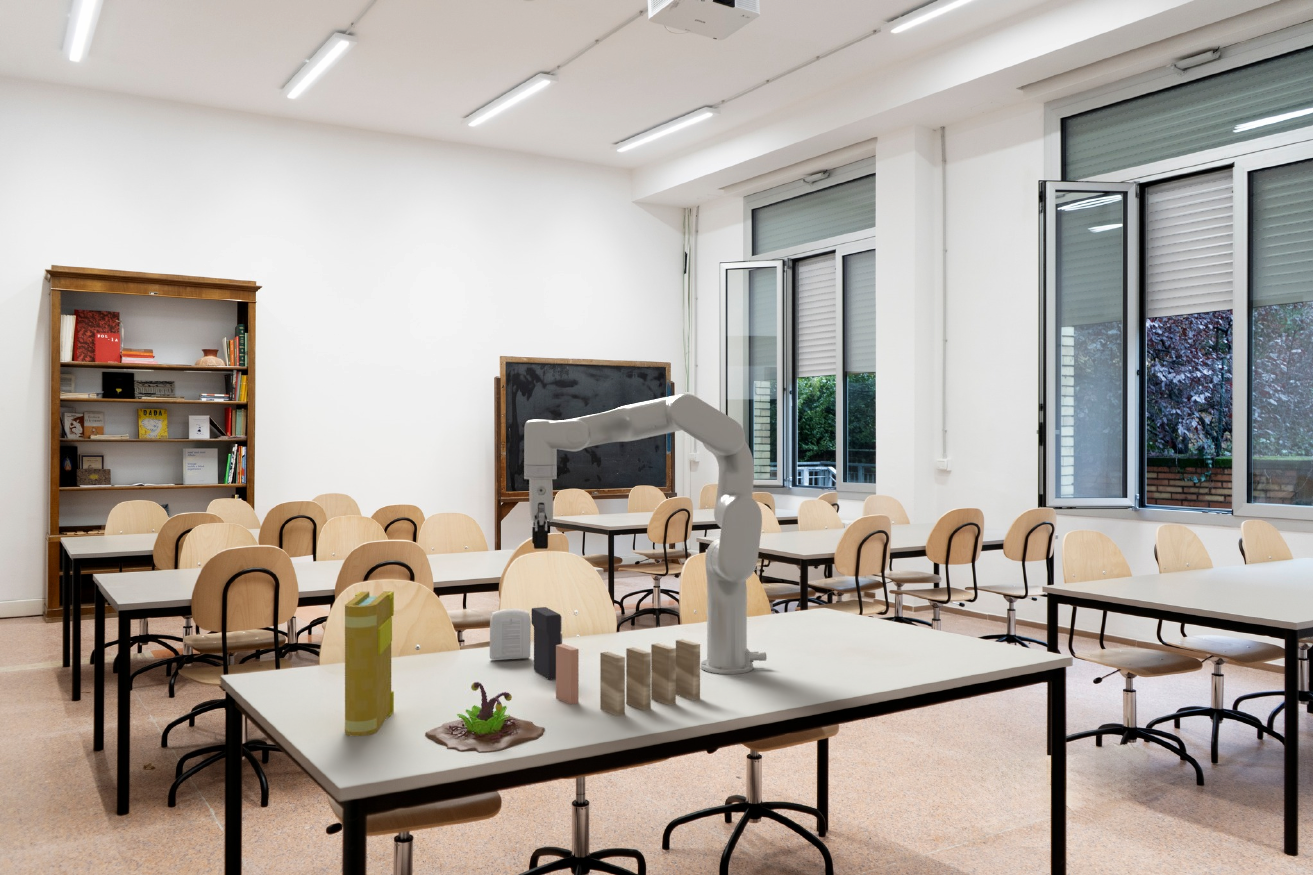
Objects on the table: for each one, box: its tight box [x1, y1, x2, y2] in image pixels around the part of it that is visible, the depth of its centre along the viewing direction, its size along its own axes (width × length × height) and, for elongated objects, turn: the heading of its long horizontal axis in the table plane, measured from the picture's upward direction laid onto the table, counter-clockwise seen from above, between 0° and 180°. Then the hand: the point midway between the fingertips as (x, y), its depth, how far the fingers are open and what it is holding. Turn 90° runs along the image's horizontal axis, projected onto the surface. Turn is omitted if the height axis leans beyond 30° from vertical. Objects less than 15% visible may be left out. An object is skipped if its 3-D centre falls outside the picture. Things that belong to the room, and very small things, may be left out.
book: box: [344, 590, 395, 737], centre depth 186 cm, size 17×7×25 cm, turn 5°
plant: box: [424, 681, 546, 754], centre depth 179 cm, size 20×20×11 cm
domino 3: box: [625, 646, 652, 711], centre depth 198 cm, size 2×6×12 cm, turn 37°
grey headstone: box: [489, 608, 532, 660], centre depth 244 cm, size 10×4×12 cm, turn 103°
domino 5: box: [675, 638, 701, 701], centre depth 206 cm, size 2×6×12 cm, turn 37°
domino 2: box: [599, 651, 626, 716], centre depth 194 cm, size 2×6×12 cm, turn 37°
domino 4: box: [650, 642, 677, 706], centre depth 202 cm, size 2×6×12 cm, turn 38°
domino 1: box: [555, 643, 580, 705], centre depth 203 cm, size 2×6×12 cm, turn 38°
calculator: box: [531, 606, 563, 681], centre depth 228 cm, size 11×4×15 cm, turn 26°
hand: (539, 546), depth 225 cm, fingers open, 9 cm apart
